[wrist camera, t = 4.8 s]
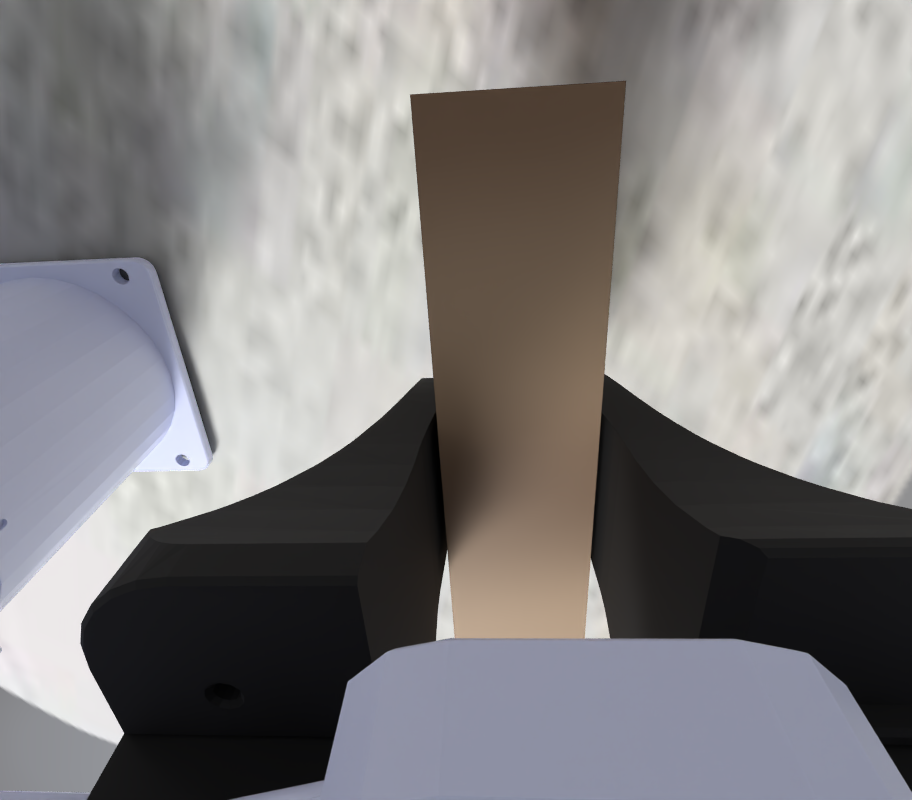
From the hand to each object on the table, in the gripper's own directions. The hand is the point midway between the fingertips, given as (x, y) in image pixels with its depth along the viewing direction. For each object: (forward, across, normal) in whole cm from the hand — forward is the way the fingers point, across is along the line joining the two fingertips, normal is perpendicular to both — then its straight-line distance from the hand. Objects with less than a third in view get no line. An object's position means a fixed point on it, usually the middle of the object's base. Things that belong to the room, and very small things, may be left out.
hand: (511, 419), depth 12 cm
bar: (+2, 0, 0) cm, 2 cm away
